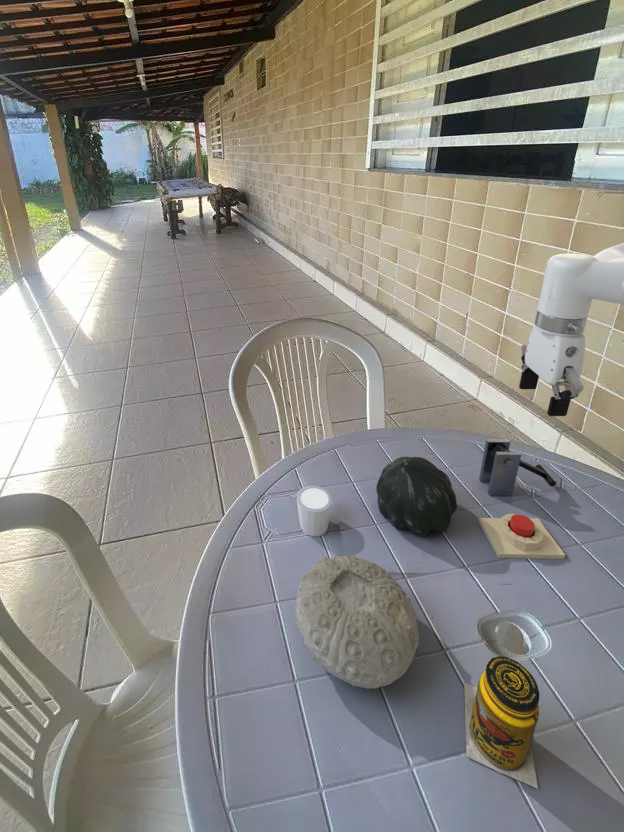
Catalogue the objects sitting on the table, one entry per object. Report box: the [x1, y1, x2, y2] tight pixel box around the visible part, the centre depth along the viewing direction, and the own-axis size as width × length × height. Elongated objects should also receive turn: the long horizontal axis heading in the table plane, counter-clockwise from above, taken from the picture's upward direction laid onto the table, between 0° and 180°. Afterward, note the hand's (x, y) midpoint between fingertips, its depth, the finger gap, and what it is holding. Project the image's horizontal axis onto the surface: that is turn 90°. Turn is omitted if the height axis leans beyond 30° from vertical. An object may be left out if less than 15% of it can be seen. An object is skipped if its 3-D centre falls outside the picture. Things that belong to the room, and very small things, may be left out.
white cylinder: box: [296, 485, 333, 537], centre depth 84 cm, size 7×7×7 cm
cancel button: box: [510, 513, 535, 538], centre depth 76 cm, size 4×4×2 cm
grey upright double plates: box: [478, 438, 522, 497], centre depth 88 cm, size 12×9×12 cm
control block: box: [477, 513, 566, 560], centre depth 77 cm, size 11×8×4 cm
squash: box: [375, 456, 458, 538], centre depth 83 cm, size 14×15×15 cm
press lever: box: [490, 444, 557, 487], centre depth 87 cm, size 13×5×2 cm, turn 86°
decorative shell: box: [294, 554, 420, 690], centre depth 63 cm, size 18×18×10 cm
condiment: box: [463, 655, 540, 790], centre depth 51 cm, size 7×8×12 cm
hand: (541, 401), depth 84 cm, fingers open, 9 cm apart
